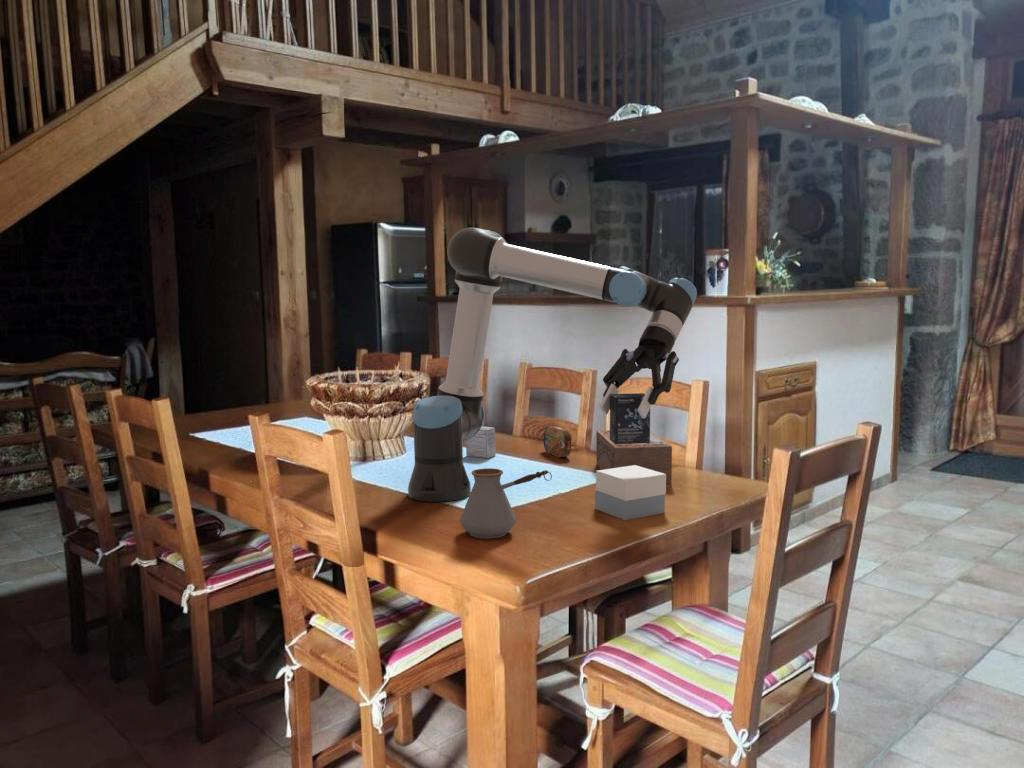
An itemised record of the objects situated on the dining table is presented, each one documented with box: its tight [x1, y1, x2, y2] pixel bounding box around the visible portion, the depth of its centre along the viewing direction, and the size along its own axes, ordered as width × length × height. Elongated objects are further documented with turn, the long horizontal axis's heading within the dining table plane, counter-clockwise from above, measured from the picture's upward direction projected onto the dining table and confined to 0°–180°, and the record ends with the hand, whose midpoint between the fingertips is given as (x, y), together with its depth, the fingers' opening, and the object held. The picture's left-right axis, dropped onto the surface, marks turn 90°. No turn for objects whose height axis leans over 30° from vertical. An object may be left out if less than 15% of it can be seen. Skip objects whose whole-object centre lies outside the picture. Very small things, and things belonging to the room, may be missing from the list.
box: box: [609, 392, 651, 444], centre depth 184 cm, size 8×6×11 cm
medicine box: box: [465, 425, 497, 459], centre depth 249 cm, size 8×4×9 cm, turn 58°
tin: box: [542, 425, 572, 458], centre depth 249 cm, size 15×3×8 cm, turn 22°
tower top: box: [595, 465, 667, 501], centre depth 186 cm, size 11×11×4 cm
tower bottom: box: [594, 489, 666, 521], centre depth 187 cm, size 11×11×4 cm
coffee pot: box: [459, 467, 553, 539], centre depth 167 cm, size 21×12×15 cm, turn 52°
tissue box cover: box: [595, 429, 673, 485], centre depth 223 cm, size 26×14×10 cm, turn 5°
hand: (621, 412), depth 182 cm, fingers closed on box, 9 cm apart
